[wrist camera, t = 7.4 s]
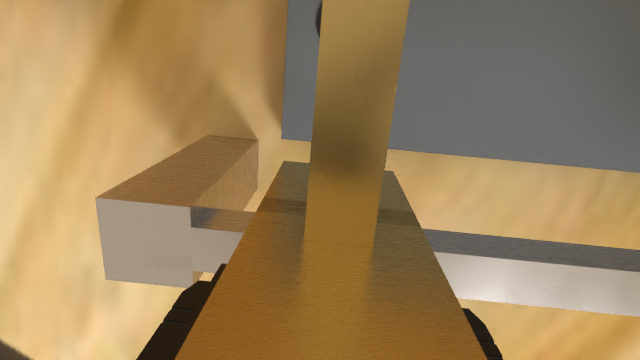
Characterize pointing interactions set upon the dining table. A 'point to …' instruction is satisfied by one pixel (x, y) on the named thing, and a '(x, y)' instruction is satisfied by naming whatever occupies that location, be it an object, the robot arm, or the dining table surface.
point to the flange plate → (498, 80)
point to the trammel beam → (231, 221)
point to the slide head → (338, 229)
